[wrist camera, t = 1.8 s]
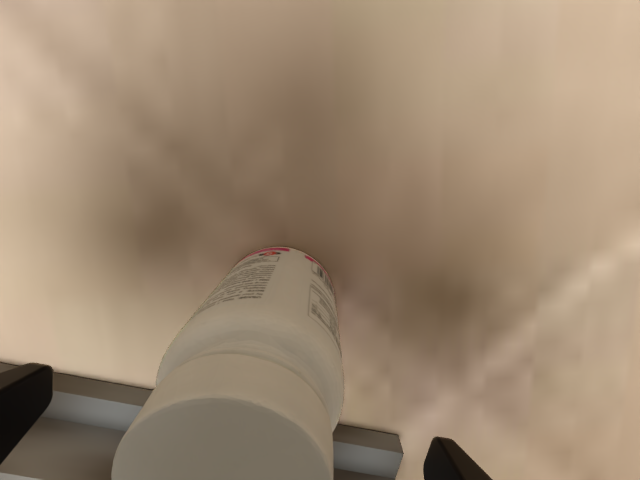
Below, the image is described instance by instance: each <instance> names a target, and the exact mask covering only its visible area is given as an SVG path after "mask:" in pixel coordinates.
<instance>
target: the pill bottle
mask: <svg viewBox="0 0 640 480" xmlns="http://www.w3.org/2000/svg"><path fill="white" fill-rule="evenodd" d="M343 400H344V375H343V365H342V355H341V345H340V336H339V327H338V318H337V310H336V301H335V293H334V289H333V286H332V283H331V280H330V278H329V276H328V274H327V272H326V271H325V269H324V268H323V267H322V266H321V265H320V264H319V263H318V262H317V261H316V260H315V259H314V258H312V257H311V256H309V255H307V254H306V253H304V252H302V251H299V250H296V249H293V248H288V247H269V248H264V249H260V250H258V251H255V252H253V253H251V254H249V255H248V256H246V257H245V258H243V259H242V260H241V261H239V262H238V263H237V264H236V265H235V266H234V268H233V269H232V270H231V271H230V272H229V273H228V275H227V276H226V277H225V278H224V279H223V280H222V282H221V283H220V284H219V285H218V286H217V287H216V289H215V290H214V291H213V292H212V293H211V295H210V296H209V297H208V298H207V299H206V301H205V302H204V303H203V304H202V305H201V307H200V308H199V309H198V310H197V311H196V312H195V313H194V315H193V316H192V317H191V318H190V320H189V321H188V322H187V323H186V324H185V326H184V327H183V328H182V329H181V331H180V332H179V333H178V334H177V336H176V337H175V338H174V340H173V341H172V343H171V344H170V346H169V347H168V349H167V351H166V353H165V354H164V356H163V358H162V361H161V363H160V366H159V370H158V373H157V379H156V388H155V389H154V390H153V391H152V393H151V395H150V396H149V398H148V400H147V401H146V403H145V404H144V406H143V408H142V409H141V411H140V412H139V414H138V415H137V416H136V418H135V419H134V421H133V422H132V424H131V425H130V427H129V428H128V430H127V431H126V433H125V435H124V436H123V438H122V440H121V441H120V443H119V445H118V448H117V450H116V453H115V456H114V459H113V466H112V471H111V480H333V436H332V433H333V431H334V429H335V427H336V425H337V423H338V421H339V418H340V415H341V411H342V406H343Z"/></svg>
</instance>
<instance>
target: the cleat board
mask: <svg viewBox="0 0 640 480" xmlns="http://www.w3.org/2000/svg"><path fill="white" fill-rule="evenodd" d="M16 367H19V366H15V365H10V364H4V363H0V372H3V371H7V370H10V369H13V368H16ZM151 393H152V390H147V389H141V388H136V387H130V386H125V385H119V384H114V383H108V382H103V381H97V380H92V379H87V378H81V377H76V376H70V375H65V374H59V373H54V372H53V397H52V400H51V403H50V404H49V406H48V408H47V409H46V410H45V411H44V413H43V414H42V415H41V416H40V417H39V419H38V420H37V421H36V422H35V424H34V425H33V426H32V427H31V428H30V430H29V431H28V432H27V433H26V435H25V436H24V437H23V438H22V439H21V441H20V442H19V443H18V444H17V445H16V447H15V448H14V449H13V450H12V452H11V453H10V454H9V455H8V456H7V458H6V459H5V460H4V461H3V463H2V464H1V465H0V480H111V471H112V466H113V459H114V456H115V453H116V450H117V448H118V445H119V443H120V441H121V440H122V438H123V436H124V435H125V433H126V431H127V430H128V428H129V427H130V425H131V424H132V422H133V421H134V419H135V418H136V416H137V415H138V414H139V412H140V411H141V409H142V408H143V406H144V404H145V403H146V401H147V400H148V398H149V396H150V395H151ZM332 436H333V480H395V477H396V475H397V472H398V469H399V466H400V463H401V460H402V457H403V454H404V453H403V450H402V446H401V443H400V440H399V436H398V435H394V434H388V433H383V432H377V431H372V430H366V429H361V428H355V427H350V426H344V425H339V424H337V425H336V427H335V429H334V431H333V433H332Z"/></svg>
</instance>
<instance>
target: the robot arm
mask: <svg viewBox="0 0 640 480" xmlns="http://www.w3.org/2000/svg"><path fill="white" fill-rule="evenodd" d="M52 397H53V369H52V367H51V366H49V365H45V364H39V363H28V364H25V365H22V366H19V367H16V368H13V369H10V370H7V371H3V372H0V465H1V464H2V463H3V461H4V460H5V459H6V458H7V456H8V455H9V454H10V453H11V452H12V450H13V449H14V448H15V447H16V445H17V444H18V443H19V442H20V441H21V439H22V438H23V437H24V436H25V435H26V433H27V432H28V431H29V430H30V428H31V427H32V426H33V425H34V424H35V422H36V421H37V420H38V419H39V417H40V416H41V415H42V414H43V413H44V411H45V410H46V409H47V408H48V406H49V404H50V403H51V400H52ZM423 471H424V479H425V480H492V479H491V478H490V477H489V476H488V475H487V474H486V473H485V472H484V471H483V470H482V469H481V468H480V467H479V466H478V465H477V464H476V463H475V462H474V461H473V460H472V459H471V458H470V457H469V456H468V455H467V454H466V453H465V452H464V451H463V450H462V449H461V448H460V447H459V446H458V445H457V443H456V442H454V441H453V440H452V439H449V438H444V437H438V436H437V437H434V438H433V440H432V442H431V445H430V447H429V450H428V453H427V456H426V459H425V462H424V468H423Z"/></svg>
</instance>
